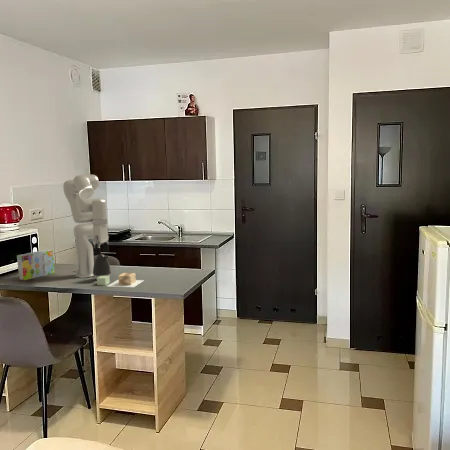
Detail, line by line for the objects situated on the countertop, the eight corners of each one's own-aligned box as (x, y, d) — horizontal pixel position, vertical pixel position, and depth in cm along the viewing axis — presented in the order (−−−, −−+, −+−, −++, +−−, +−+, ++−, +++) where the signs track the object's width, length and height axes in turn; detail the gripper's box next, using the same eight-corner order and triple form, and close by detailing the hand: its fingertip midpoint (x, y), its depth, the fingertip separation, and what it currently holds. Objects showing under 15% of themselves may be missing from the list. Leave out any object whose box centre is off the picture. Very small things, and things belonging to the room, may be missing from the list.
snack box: (49, 272, 292) (48, 249, 290) (55, 273, 288) (53, 249, 287) (18, 279, 275) (16, 254, 273) (23, 280, 271) (21, 255, 269)
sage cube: (97, 286, 253) (96, 278, 252) (101, 284, 258) (101, 275, 257) (105, 287, 252) (105, 278, 251) (109, 284, 257) (109, 276, 256)
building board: (106, 288, 249) (106, 286, 249) (118, 281, 264) (117, 279, 264) (134, 288, 246) (134, 287, 246) (144, 282, 260) (144, 280, 260)
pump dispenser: (102, 282, 262) (101, 256, 260) (89, 280, 267) (88, 254, 265) (115, 278, 271) (113, 253, 269) (102, 276, 276) (100, 251, 274)
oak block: (118, 284, 252) (118, 275, 251) (124, 281, 259) (123, 272, 258) (130, 285, 250) (130, 276, 250) (135, 281, 257) (135, 273, 257)
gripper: (100, 220, 260) (102, 250, 262) (85, 224, 243) (87, 256, 245) (113, 220, 258) (115, 250, 260) (99, 224, 241) (101, 256, 243)
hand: (101, 253), depth 252 cm, fingers open, 9 cm apart
